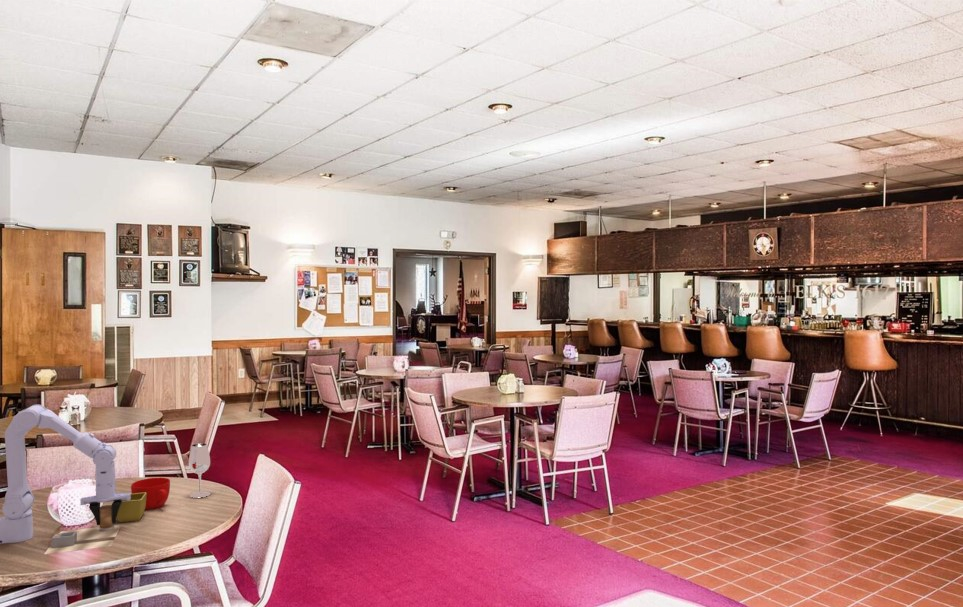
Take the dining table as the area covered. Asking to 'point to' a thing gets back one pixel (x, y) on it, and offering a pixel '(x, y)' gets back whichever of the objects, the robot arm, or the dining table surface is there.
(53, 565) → the dining table surface
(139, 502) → the flower pot
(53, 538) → the box
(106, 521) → the brown cylinder
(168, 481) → the ceramic cup
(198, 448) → the wineglass
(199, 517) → the dining table surface
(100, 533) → the board
